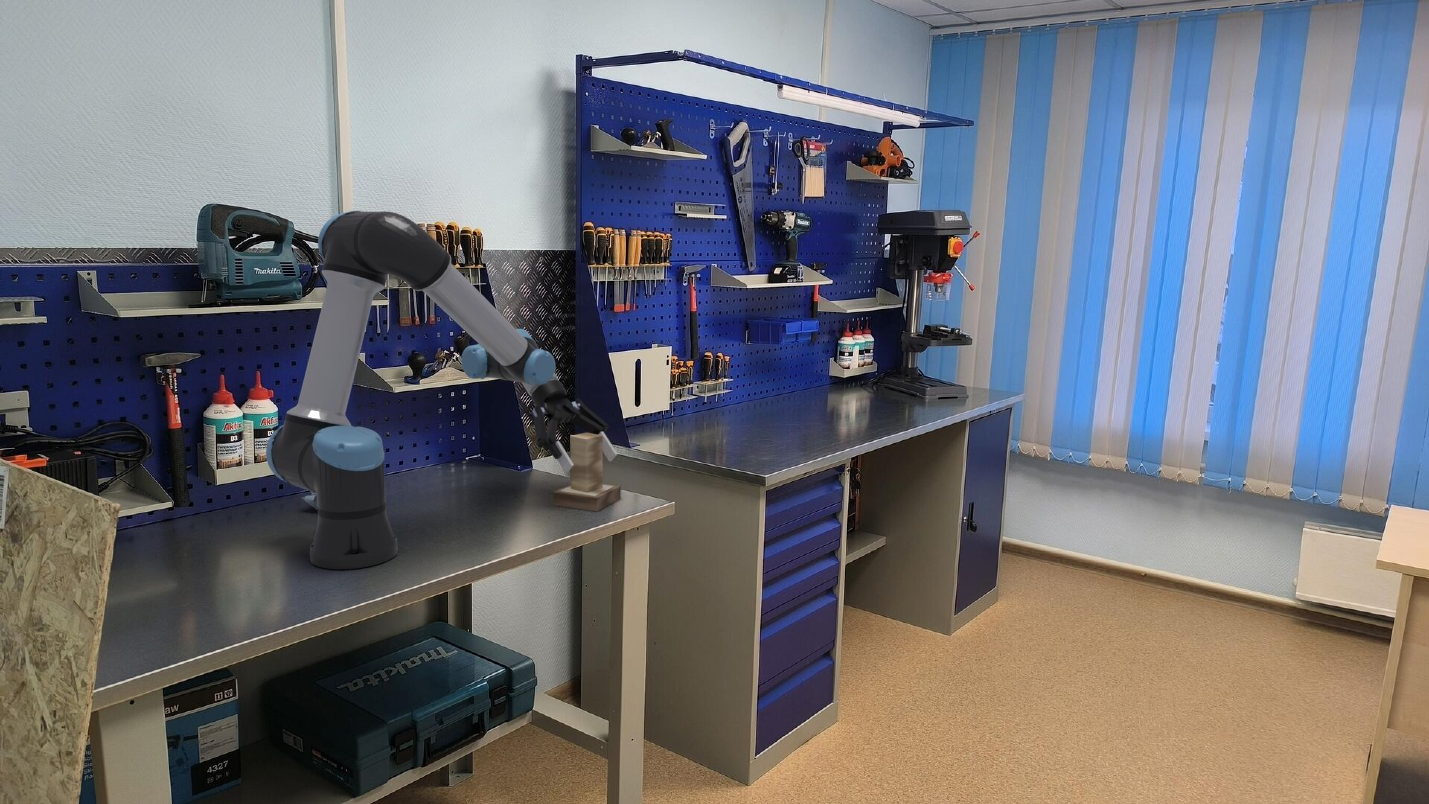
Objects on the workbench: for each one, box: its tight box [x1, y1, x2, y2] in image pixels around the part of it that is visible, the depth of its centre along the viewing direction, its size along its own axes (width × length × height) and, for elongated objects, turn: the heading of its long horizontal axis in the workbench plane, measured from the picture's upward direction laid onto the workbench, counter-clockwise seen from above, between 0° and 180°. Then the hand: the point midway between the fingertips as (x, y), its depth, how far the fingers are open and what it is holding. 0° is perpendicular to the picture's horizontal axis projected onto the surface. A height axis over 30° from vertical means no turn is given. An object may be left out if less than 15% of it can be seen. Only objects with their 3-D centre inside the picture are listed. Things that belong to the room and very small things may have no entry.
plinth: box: [552, 483, 622, 512], centre depth 210 cm, size 11×11×3 cm
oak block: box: [569, 432, 604, 493], centre depth 208 cm, size 5×5×12 cm
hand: (592, 463), depth 207 cm, fingers open, 13 cm apart
